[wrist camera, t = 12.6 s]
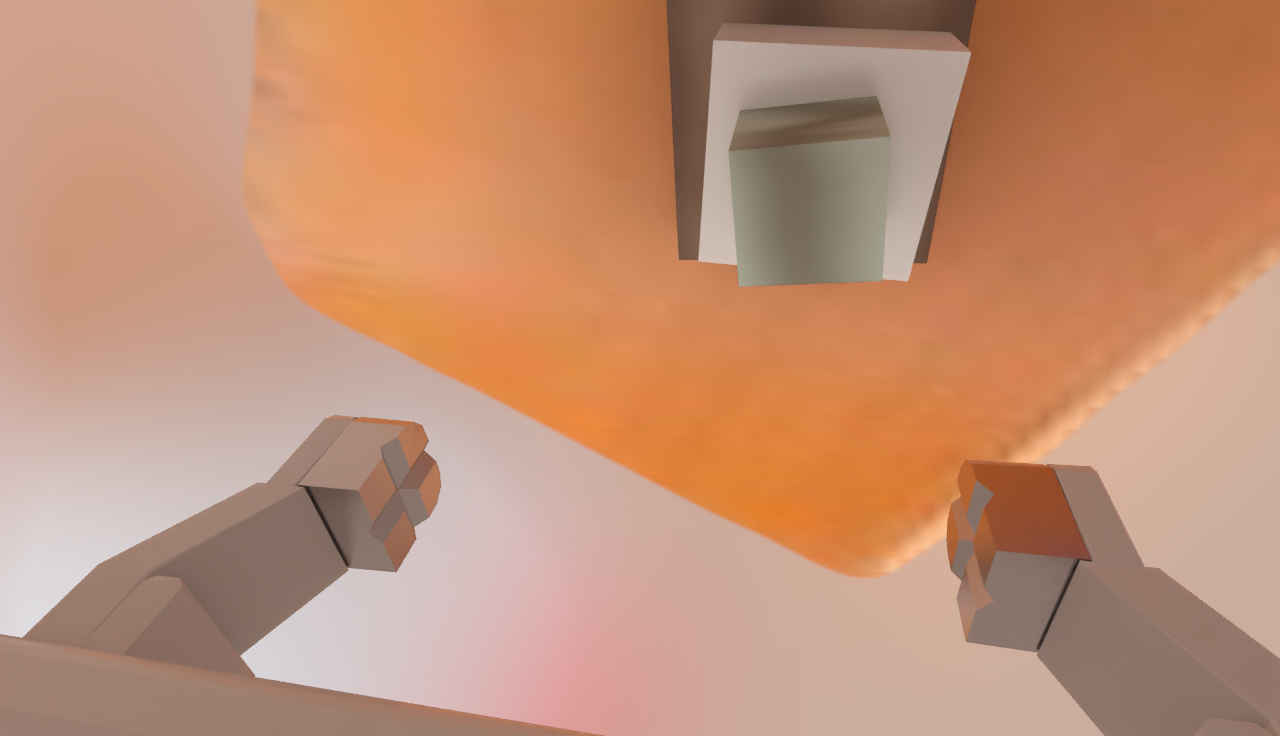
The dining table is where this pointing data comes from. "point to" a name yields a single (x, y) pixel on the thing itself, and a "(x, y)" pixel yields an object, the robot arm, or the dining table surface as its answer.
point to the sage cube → (810, 192)
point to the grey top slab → (825, 71)
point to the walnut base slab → (708, 3)
